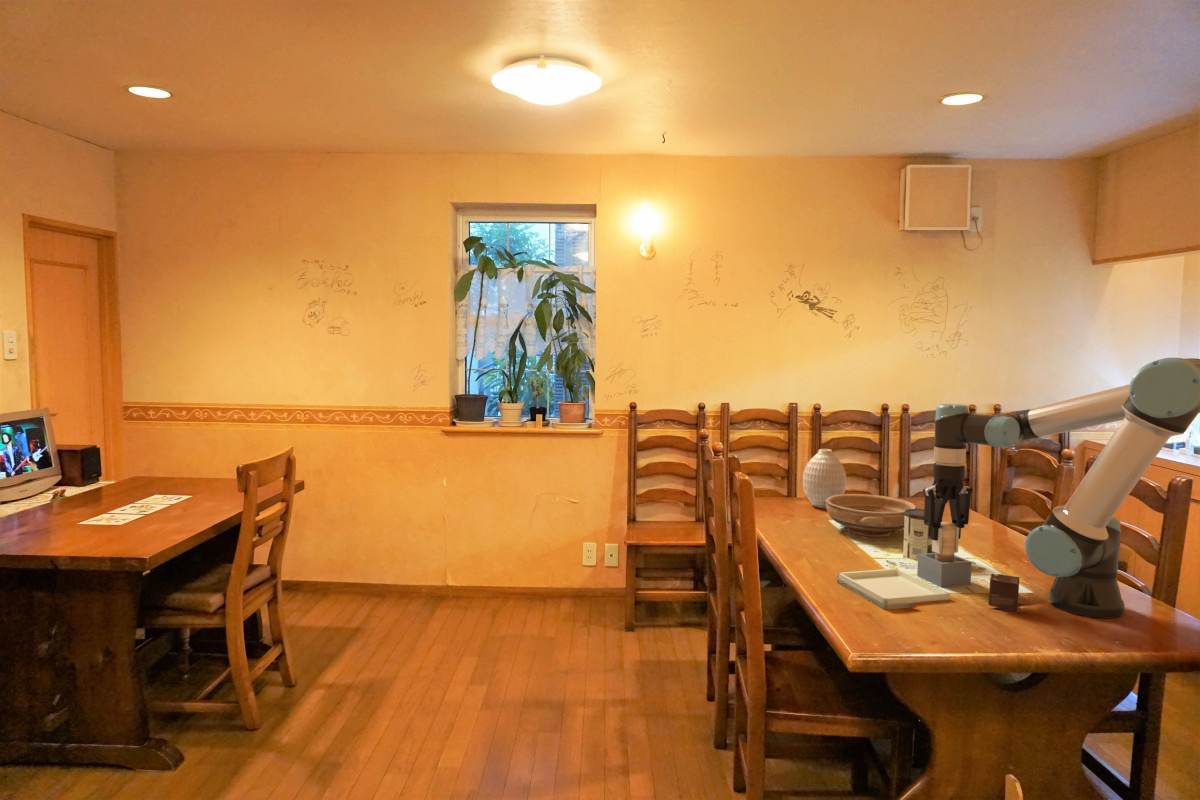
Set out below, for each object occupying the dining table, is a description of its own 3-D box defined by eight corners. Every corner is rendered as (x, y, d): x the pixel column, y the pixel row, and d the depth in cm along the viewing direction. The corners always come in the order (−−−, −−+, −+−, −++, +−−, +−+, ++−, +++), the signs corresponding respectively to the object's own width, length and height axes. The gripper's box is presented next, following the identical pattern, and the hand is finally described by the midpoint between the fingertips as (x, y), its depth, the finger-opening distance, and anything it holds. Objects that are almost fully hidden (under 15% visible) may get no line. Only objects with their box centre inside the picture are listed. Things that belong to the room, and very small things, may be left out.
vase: (804, 510, 274) (806, 451, 272) (799, 501, 290) (801, 446, 288) (848, 512, 271) (851, 453, 270) (841, 502, 287) (843, 447, 286)
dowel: (956, 582, 188) (959, 525, 187) (942, 583, 187) (945, 526, 186) (944, 576, 193) (947, 521, 191) (930, 578, 192) (933, 522, 190)
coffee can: (935, 556, 216) (937, 509, 215) (944, 566, 206) (947, 517, 204) (898, 553, 218) (901, 507, 217) (906, 563, 208) (908, 515, 207)
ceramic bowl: (923, 551, 221) (924, 518, 220) (825, 542, 229) (826, 511, 228) (908, 522, 256) (909, 494, 255) (823, 516, 264) (824, 489, 264)
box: (1017, 614, 169) (1018, 583, 168) (988, 609, 172) (989, 579, 172) (1018, 606, 174) (1019, 576, 174) (989, 601, 177) (991, 572, 177)
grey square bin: (970, 588, 187) (971, 561, 186) (940, 590, 185) (941, 564, 184) (945, 577, 196) (946, 551, 195) (917, 579, 193) (918, 553, 193)
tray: (949, 603, 175) (949, 593, 175) (884, 609, 171) (885, 598, 171) (896, 577, 195) (896, 568, 194) (837, 582, 190) (837, 572, 190)
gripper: (966, 460, 193) (962, 545, 195) (910, 462, 189) (906, 549, 191) (988, 464, 186) (983, 553, 188) (930, 466, 182) (926, 557, 184)
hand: (944, 551), depth 189 cm, fingers closed on dowel, 4 cm apart
